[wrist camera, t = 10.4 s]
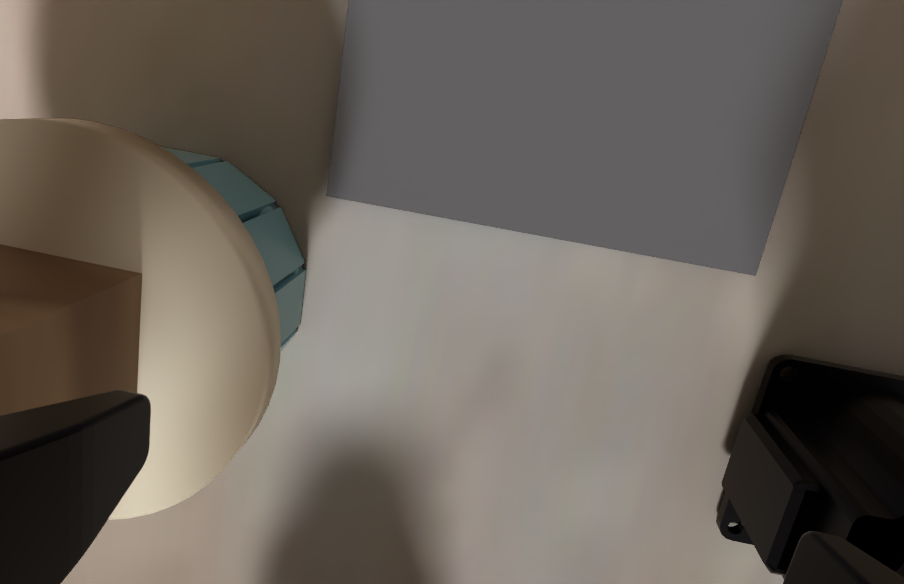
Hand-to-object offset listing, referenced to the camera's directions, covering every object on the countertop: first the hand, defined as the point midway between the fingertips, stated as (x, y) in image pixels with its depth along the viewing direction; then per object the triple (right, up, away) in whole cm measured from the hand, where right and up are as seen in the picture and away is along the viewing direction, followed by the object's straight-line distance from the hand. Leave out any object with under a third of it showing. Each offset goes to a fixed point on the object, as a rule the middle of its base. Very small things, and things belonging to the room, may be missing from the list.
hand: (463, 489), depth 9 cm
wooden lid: (-9, +2, +8) cm, 12 cm away
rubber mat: (+4, +11, +9) cm, 14 cm away
